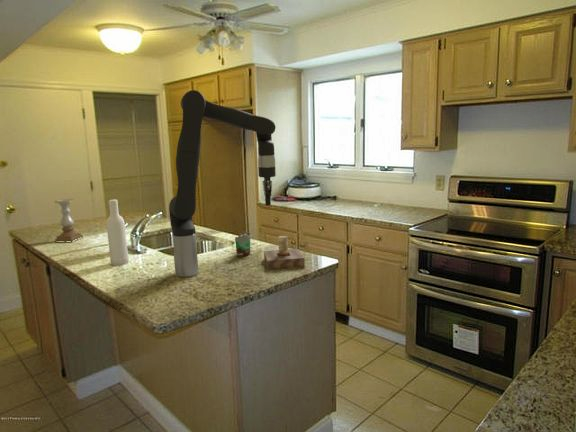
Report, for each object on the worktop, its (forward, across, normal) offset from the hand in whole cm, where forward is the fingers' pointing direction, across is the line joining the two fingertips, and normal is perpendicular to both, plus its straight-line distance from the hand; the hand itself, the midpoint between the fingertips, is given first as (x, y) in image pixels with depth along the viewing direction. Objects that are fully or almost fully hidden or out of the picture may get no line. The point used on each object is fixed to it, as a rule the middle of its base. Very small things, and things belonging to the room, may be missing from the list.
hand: (268, 205), depth 183 cm
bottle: (+27, -16, -69) cm, 76 cm away
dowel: (+26, +3, +6) cm, 27 cm away
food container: (+26, -16, -10) cm, 33 cm away
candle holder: (+27, -74, -111) cm, 136 cm away
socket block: (+26, +3, +6) cm, 27 cm away
